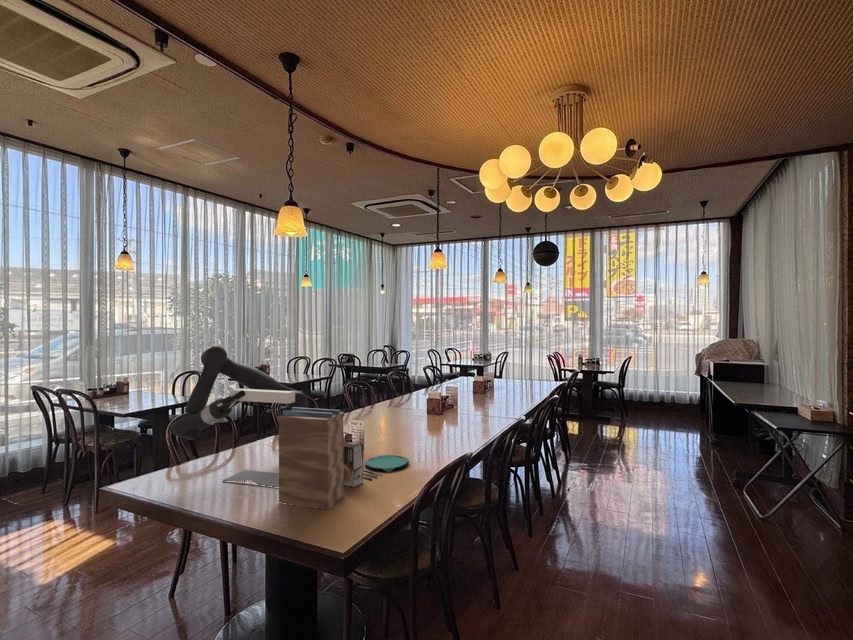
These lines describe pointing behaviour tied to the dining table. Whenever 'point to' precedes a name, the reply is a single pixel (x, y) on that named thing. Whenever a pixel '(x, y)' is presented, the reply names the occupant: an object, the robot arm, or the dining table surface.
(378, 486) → the dining table surface
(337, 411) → the brown wooden box
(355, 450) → the grey food carton
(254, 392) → the bar
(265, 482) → the mat
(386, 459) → the cutlery set
